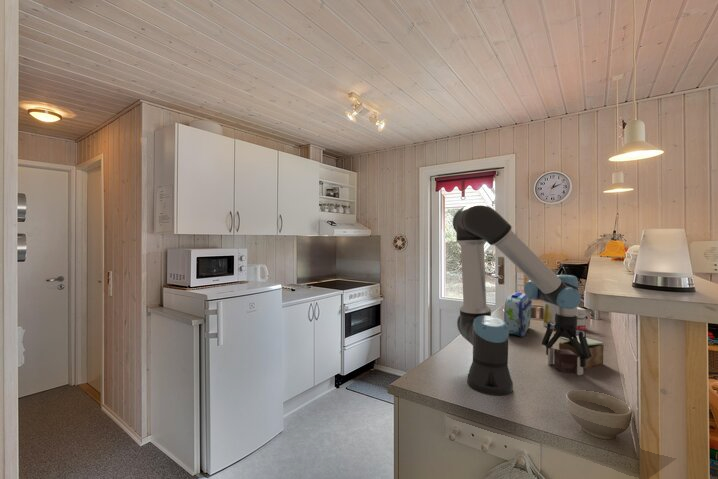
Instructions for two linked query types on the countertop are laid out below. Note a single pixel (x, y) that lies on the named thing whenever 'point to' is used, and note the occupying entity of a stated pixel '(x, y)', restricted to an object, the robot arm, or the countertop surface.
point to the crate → (594, 349)
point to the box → (565, 360)
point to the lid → (589, 341)
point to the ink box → (581, 319)
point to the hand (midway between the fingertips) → (564, 368)
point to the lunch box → (517, 313)
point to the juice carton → (549, 313)
